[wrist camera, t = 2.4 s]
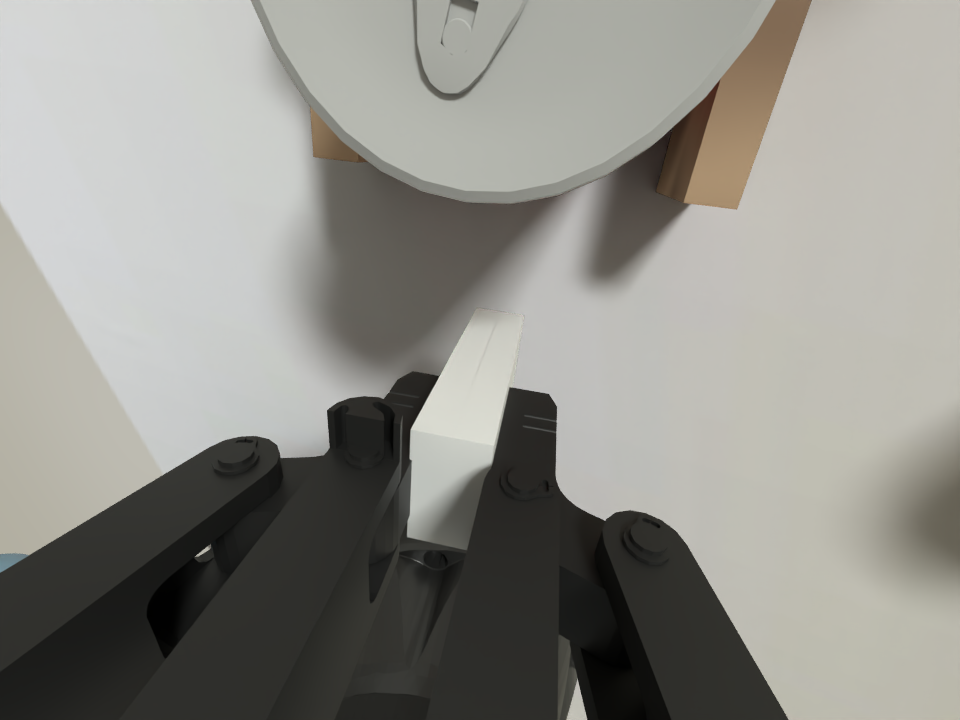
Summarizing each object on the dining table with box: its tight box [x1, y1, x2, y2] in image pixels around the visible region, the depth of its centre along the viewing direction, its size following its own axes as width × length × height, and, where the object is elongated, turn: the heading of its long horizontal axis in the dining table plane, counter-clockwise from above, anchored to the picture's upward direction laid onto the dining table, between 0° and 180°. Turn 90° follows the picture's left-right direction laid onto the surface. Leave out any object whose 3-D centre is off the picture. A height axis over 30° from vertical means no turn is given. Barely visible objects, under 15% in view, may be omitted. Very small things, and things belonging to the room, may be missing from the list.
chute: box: [310, 0, 812, 209], centre depth 12 cm, size 9×13×6 cm
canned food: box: [251, 0, 776, 204], centre depth 10 cm, size 8×8×11 cm
